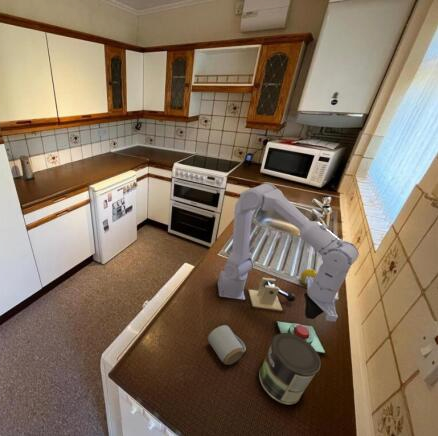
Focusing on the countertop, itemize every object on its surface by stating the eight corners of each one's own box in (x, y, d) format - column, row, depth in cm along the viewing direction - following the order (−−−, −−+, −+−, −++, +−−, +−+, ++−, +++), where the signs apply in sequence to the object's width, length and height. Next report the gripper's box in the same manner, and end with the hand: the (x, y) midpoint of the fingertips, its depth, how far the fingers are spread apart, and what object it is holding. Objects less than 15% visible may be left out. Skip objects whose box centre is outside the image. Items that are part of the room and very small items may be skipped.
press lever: (289, 298, 88) (295, 293, 87) (292, 304, 85) (298, 299, 84) (262, 284, 87) (267, 279, 86) (264, 290, 85) (270, 285, 83)
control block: (284, 349, 73) (287, 342, 71) (275, 323, 80) (278, 317, 79) (323, 355, 71) (327, 349, 70) (311, 328, 79) (314, 323, 77)
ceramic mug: (222, 370, 67) (227, 354, 63) (205, 345, 73) (209, 328, 70) (251, 356, 71) (257, 340, 67) (232, 333, 77) (237, 317, 73)
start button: (296, 337, 73) (298, 334, 72) (292, 327, 76) (294, 323, 75) (309, 339, 73) (311, 336, 72) (304, 329, 76) (306, 325, 75)
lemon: (316, 291, 94) (323, 275, 90) (300, 288, 95) (307, 273, 91) (310, 281, 98) (317, 266, 95) (296, 279, 99) (302, 264, 95)
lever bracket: (275, 295, 92) (282, 276, 87) (281, 312, 85) (289, 293, 80) (248, 291, 93) (253, 273, 89) (252, 307, 86) (258, 289, 82)
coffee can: (257, 392, 62) (271, 361, 55) (260, 357, 70) (272, 326, 63) (302, 413, 58) (324, 382, 51) (299, 374, 66) (318, 342, 60)
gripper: (359, 306, 57) (336, 341, 64) (329, 267, 70) (313, 299, 76) (327, 302, 58) (308, 337, 65) (303, 264, 71) (290, 296, 77)
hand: (309, 316), depth 71 cm, fingers closed
